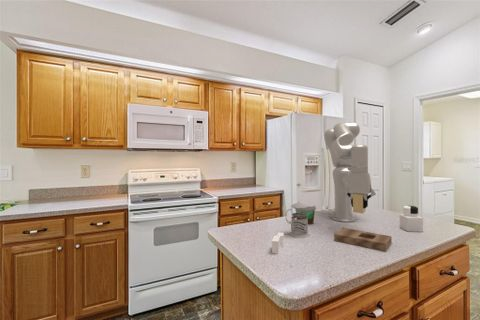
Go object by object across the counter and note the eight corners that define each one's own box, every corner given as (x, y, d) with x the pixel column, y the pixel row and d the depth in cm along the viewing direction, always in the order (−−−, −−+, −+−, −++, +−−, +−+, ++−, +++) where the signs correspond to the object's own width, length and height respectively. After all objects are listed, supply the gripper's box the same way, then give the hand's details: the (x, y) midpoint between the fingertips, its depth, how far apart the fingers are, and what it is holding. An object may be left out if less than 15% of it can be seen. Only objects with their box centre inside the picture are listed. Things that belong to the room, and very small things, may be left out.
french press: (311, 238, 109) (310, 184, 109) (285, 236, 112) (284, 184, 112) (309, 231, 119) (308, 182, 119) (285, 230, 121) (285, 182, 121)
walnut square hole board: (334, 240, 106) (334, 233, 106) (343, 233, 114) (343, 227, 114) (385, 251, 92) (385, 243, 92) (391, 243, 101) (391, 236, 101)
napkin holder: (276, 258, 89) (276, 243, 89) (257, 249, 98) (256, 235, 98) (302, 249, 98) (302, 235, 98) (282, 241, 107) (282, 229, 107)
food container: (293, 224, 133) (293, 206, 133) (294, 221, 139) (294, 204, 139) (316, 225, 130) (316, 207, 130) (316, 222, 135) (316, 205, 135)
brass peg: (352, 212, 116) (352, 193, 115) (355, 210, 119) (355, 192, 119) (363, 213, 113) (362, 194, 112) (365, 211, 116) (365, 193, 116)
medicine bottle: (413, 227, 123) (413, 204, 123) (423, 232, 116) (422, 207, 116) (399, 227, 123) (399, 204, 123) (407, 231, 116) (407, 207, 116)
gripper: (338, 170, 118) (338, 206, 118) (376, 171, 107) (376, 211, 107) (343, 169, 123) (343, 203, 124) (380, 170, 112) (380, 208, 113)
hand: (359, 206), depth 116 cm, fingers closed on brass peg, 4 cm apart
